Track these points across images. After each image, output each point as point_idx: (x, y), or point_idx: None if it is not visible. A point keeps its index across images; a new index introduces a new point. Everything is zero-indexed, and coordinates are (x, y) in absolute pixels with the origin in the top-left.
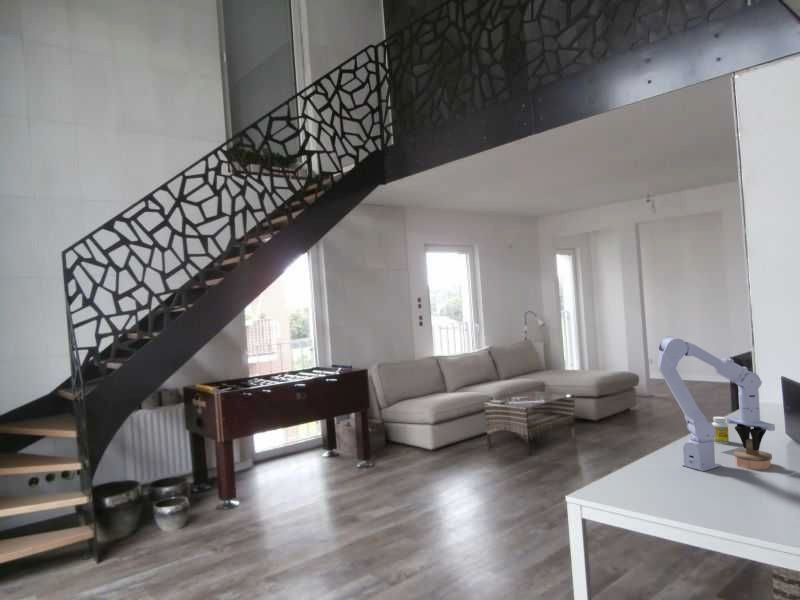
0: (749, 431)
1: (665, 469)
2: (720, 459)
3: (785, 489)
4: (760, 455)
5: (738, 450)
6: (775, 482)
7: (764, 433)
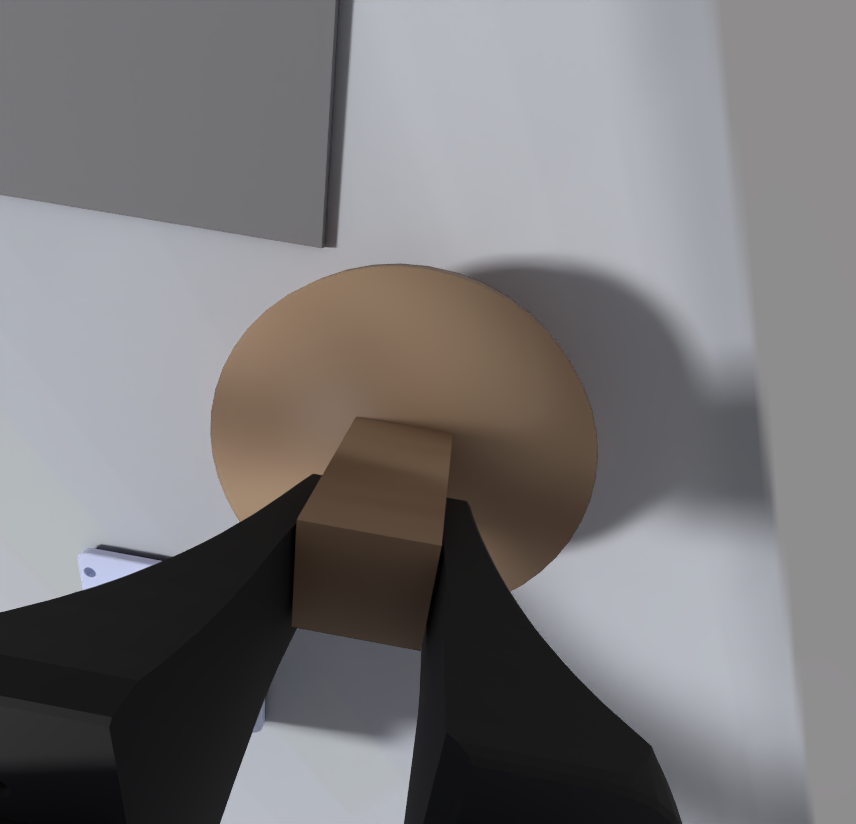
0: (224, 631)
1: None
2: (137, 409)
3: (758, 759)
4: (485, 473)
5: (219, 421)
6: (680, 685)
7: (589, 696)
